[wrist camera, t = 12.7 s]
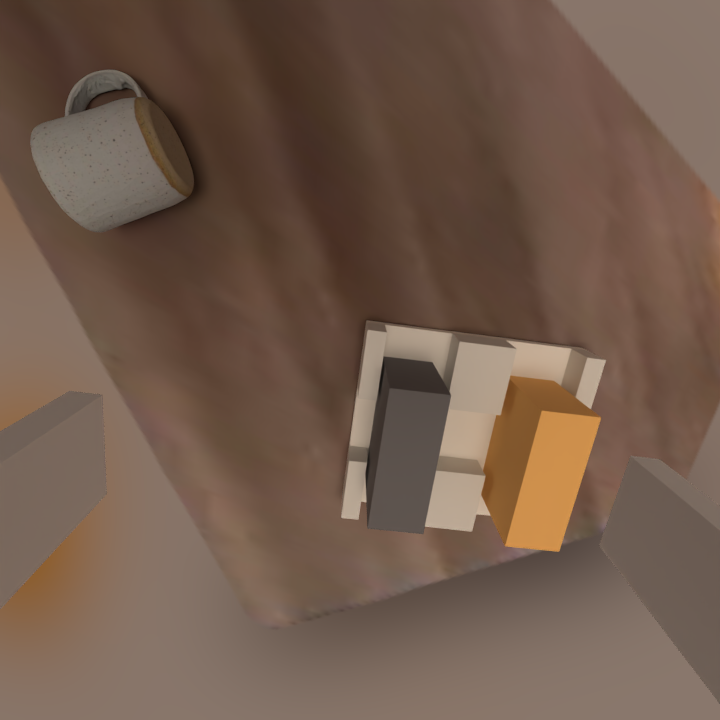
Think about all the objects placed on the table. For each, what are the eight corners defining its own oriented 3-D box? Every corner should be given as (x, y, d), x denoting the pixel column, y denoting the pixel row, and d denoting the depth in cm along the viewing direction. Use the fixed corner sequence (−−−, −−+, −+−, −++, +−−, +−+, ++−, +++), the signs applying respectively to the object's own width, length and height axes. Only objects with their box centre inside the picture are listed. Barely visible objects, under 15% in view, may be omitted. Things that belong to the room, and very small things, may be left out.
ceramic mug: (211, 199, 36) (174, 190, 29) (122, 233, 37) (63, 234, 29) (152, 59, 33) (94, 9, 26) (57, 99, 34) (-27, 62, 27)
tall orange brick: (505, 375, 40) (541, 410, 32) (554, 380, 40) (601, 417, 32) (478, 489, 43) (505, 546, 36) (523, 494, 43) (559, 551, 36)
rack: (366, 320, 39) (367, 329, 35) (583, 347, 40) (605, 360, 36) (342, 493, 44) (341, 517, 41) (534, 514, 45) (550, 539, 42)
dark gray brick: (382, 356, 39) (389, 388, 31) (432, 362, 39) (451, 395, 32) (365, 473, 42) (367, 528, 35) (410, 478, 43) (423, 534, 35)
